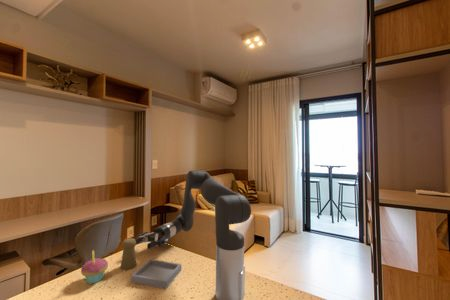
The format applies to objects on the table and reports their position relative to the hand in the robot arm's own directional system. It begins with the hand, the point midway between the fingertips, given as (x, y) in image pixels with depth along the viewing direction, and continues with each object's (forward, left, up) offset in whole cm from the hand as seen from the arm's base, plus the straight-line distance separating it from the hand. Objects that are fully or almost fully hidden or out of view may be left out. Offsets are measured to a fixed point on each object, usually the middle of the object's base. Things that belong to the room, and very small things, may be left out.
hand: (140, 244), depth 94 cm
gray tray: (-14, +9, -6) cm, 18 cm away
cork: (+1, +6, -7) cm, 9 cm away
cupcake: (+7, +17, -7) cm, 20 cm away
